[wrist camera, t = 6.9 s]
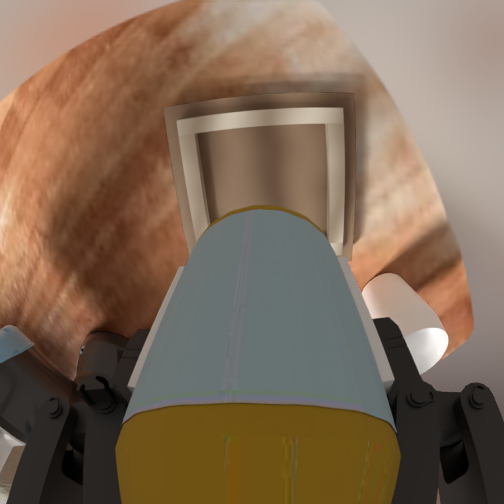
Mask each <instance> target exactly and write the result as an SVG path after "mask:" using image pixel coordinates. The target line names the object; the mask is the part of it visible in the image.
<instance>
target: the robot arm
mask: <svg viewBox="0 0 504 504" xmlns="http://www.w3.org/2000/svg"><path fill="white" fill-rule="evenodd" d="M337 259H338V261H339V263H340V266H341V268H342V271H343V273H344V276H345V278H346V281H347V283H348V286H349V288H350V291H351V293H352V296H353V299H354V301H355V304H356V306H357V309H358V312H359V315H360V317H361V320H362V323H363V325H364V328H365V331H366V334H367V337H368V340H369V343H370V345H371V348H372V351H373V354H374V357H375V360H376V363H377V367H378V370H379V373H380V376H381V379H382V382H383V385H384V389H385V392H386V395H387V399H388V402H389V406H390V409H391V413H392V416H393V420H394V424H395V427H396V431H397V433H396V431H395V433H396V437H397V441H398V445H399V450H400V454H401V459H400V465H399V470H398V476H397V481H396V486H395V490H394V494H393V498H392V501H391V504H436V500H437V490H438V488H439V495H440V502H441V504H504V422H503V419H502V416H501V413H500V411H499V408H498V406H497V403H496V401H495V398H494V396H493V394H492V392H491V391H490V389H489V388H488V387H486V386H485V385H484V384H481V383H471V384H469V385H467V386H465V388H464V389H463V390H462V392H440V391H436V390H435V389H434V388H433V387H432V385H430V384H428V383H426V382H424V381H423V380H422V378H421V376H420V374H419V371H418V369H417V366H416V364H415V362H414V359H413V357H412V355H411V353H410V350H409V348H408V347H407V344H406V341H405V339H404V338H403V335H402V333H401V330H400V328H399V326H398V325H397V324H396V323H395V322H394V321H393V320H392V319H391V318H390V317H384V318H376V319H372V317H371V315H370V313H369V310H368V308H367V305H366V303H365V300H364V298H363V296H362V293H361V291H360V289H359V286H358V284H357V282H356V280H355V277H354V275H353V273H352V271H351V268H350V266H349V264H348V262H347V260H346V258H345V256H343V257H337ZM184 267H185V266H180V267H179V269H178V271H177V273H176V275H175V277H174V279H173V281H172V283H171V286H170V288H169V290H168V292H167V294H166V296H165V299H164V301H163V303H162V305H161V307H160V310H159V312H158V314H157V316H156V318H155V321H154V323H153V325H152V328H151V330H150V329H139V330H138V331H137V332H136V333H135V334H134V335H133V336H132V337H131V338H130V340H128V339H126V338H124V337H122V336H119V335H117V334H113V333H109V332H94V333H92V334H90V335H88V336H87V337H86V339H85V341H84V342H83V344H82V346H81V348H80V357H79V361H78V367H77V375H76V378H75V380H74V381H72V380H71V379H70V378H69V377H68V376H67V375H66V374H64V373H63V372H62V371H61V370H60V369H59V368H58V367H57V366H56V365H54V364H53V363H52V362H51V361H50V360H49V359H48V358H47V357H46V356H45V355H44V354H43V353H42V352H41V351H40V350H39V349H38V348H37V347H36V346H35V343H34V342H31V341H30V340H29V339H28V338H27V337H26V336H25V335H24V334H23V333H22V332H21V331H20V330H19V329H18V328H17V327H15V326H13V325H7V326H5V327H3V328H2V329H1V330H0V472H1V470H2V468H3V466H4V464H5V462H6V460H7V458H8V456H9V454H10V452H11V450H12V448H13V447H14V446H24V445H25V447H24V450H23V453H22V455H21V458H20V461H19V464H18V467H17V470H16V473H15V476H14V479H13V482H12V486H11V489H10V492H9V496H8V500H7V503H6V504H122V502H121V496H120V489H119V481H118V473H117V463H116V452H115V447H116V444H117V441H118V438H119V435H120V432H121V425H122V422H123V419H124V416H125V413H126V411H127V408H128V405H129V402H130V399H131V397H132V394H133V391H134V389H135V386H136V383H137V380H138V378H139V375H140V373H141V370H142V367H143V365H144V362H145V360H146V357H147V355H148V352H149V349H150V347H151V344H152V342H153V340H154V337H155V335H156V332H157V330H158V327H159V325H160V322H161V320H162V318H163V315H164V313H165V311H166V308H167V306H168V304H169V301H170V299H171V297H172V294H173V292H174V290H175V287H176V285H177V283H178V281H179V278H180V276H181V274H182V272H183V269H184Z"/></svg>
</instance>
